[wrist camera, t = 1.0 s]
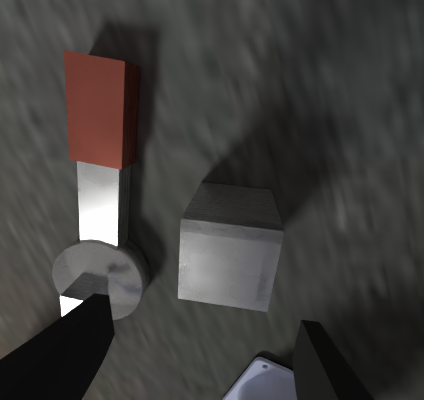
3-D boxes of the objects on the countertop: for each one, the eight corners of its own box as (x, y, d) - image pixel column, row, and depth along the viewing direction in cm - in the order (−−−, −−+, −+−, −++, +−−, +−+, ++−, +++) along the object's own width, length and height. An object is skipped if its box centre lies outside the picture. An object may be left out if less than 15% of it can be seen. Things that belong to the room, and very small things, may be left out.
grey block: (270, 189, 17) (284, 231, 11) (260, 249, 19) (267, 311, 13) (201, 181, 17) (180, 218, 12) (197, 241, 19) (178, 298, 13)
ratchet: (147, 307, 22) (123, 357, 18) (72, 290, 22) (31, 335, 18) (169, 72, 15) (138, 58, 11) (59, 52, 15) (-15, 31, 11)
